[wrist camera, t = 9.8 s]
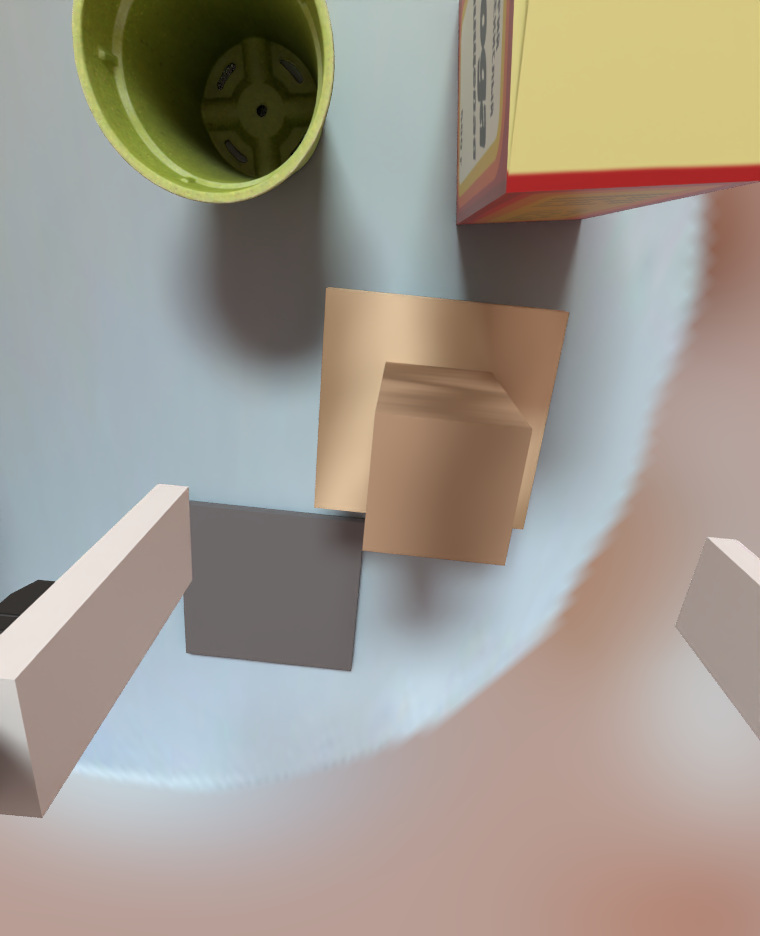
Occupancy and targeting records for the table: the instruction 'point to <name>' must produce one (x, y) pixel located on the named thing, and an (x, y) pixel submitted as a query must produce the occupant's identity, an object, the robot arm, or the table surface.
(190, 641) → the mat
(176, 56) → the plant pot
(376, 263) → the table surface
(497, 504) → the lid
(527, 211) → the baking soda box
